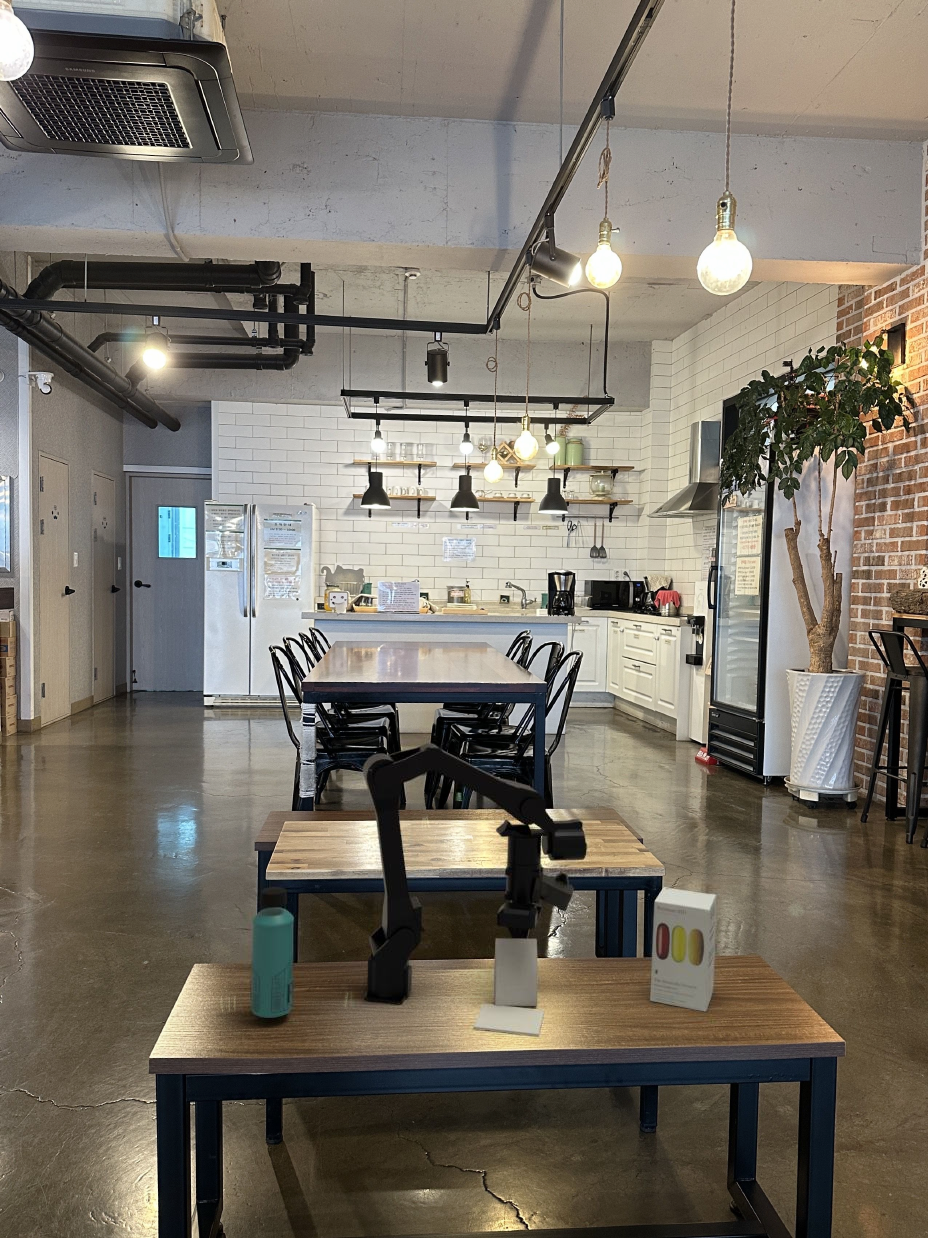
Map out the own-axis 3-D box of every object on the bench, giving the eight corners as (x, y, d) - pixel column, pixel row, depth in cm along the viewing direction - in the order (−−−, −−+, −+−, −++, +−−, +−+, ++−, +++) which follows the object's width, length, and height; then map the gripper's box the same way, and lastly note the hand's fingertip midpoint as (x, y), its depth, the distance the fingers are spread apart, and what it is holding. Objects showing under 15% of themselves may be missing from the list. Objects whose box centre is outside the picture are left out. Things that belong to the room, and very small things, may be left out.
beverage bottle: (292, 1027, 138) (296, 895, 138) (247, 1029, 137) (251, 896, 137) (293, 1008, 145) (296, 882, 144) (250, 1010, 143) (253, 883, 143)
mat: (473, 1029, 139) (473, 1026, 139) (482, 1006, 148) (482, 1003, 148) (538, 1037, 137) (538, 1034, 137) (544, 1013, 146) (544, 1010, 146)
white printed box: (537, 1006, 147) (538, 942, 148) (495, 1005, 147) (496, 941, 148) (534, 999, 151) (535, 936, 152) (493, 999, 150) (494, 936, 152)
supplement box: (648, 1002, 151) (651, 900, 151) (658, 981, 160) (661, 885, 160) (708, 1013, 147) (711, 909, 147) (714, 991, 156) (717, 893, 156)
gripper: (567, 880, 144) (564, 979, 145) (575, 851, 163) (572, 938, 163) (497, 874, 147) (495, 971, 147) (513, 846, 165) (510, 932, 165)
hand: (521, 952), depth 155 cm, fingers closed
